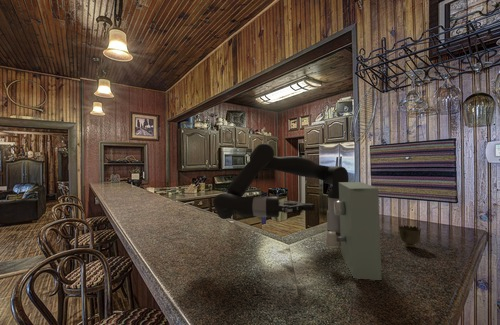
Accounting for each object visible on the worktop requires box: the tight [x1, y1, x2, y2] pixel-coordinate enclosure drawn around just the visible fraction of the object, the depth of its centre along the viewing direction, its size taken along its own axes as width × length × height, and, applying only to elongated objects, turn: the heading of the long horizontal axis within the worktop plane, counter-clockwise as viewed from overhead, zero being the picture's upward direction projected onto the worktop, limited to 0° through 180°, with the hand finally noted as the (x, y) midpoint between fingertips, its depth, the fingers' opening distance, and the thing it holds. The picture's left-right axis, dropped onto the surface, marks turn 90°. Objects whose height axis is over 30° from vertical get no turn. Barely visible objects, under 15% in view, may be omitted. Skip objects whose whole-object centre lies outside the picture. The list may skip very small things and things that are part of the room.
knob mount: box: [339, 181, 382, 281], centre depth 80 cm, size 8×20×28 cm, turn 168°
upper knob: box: [334, 201, 345, 215], centre depth 81 cm, size 7×5×5 cm
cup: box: [398, 225, 422, 249], centre depth 95 cm, size 8×7×8 cm
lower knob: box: [325, 230, 346, 247], centre depth 82 cm, size 7×5×5 cm
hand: (314, 207), depth 83 cm, fingers closed
